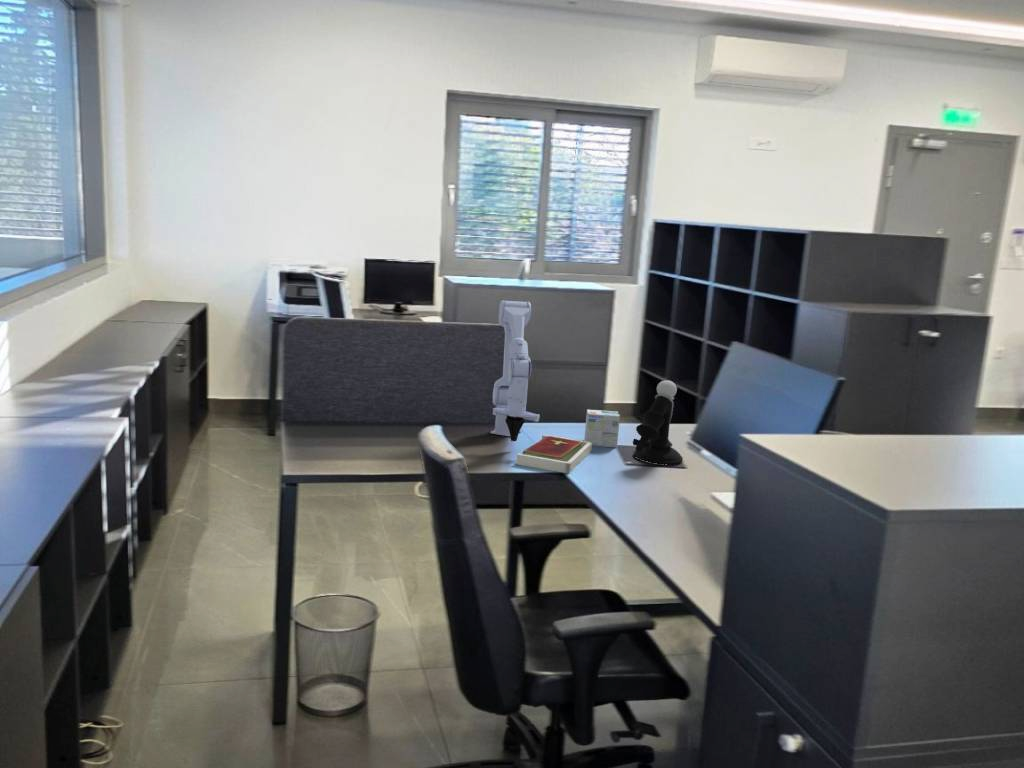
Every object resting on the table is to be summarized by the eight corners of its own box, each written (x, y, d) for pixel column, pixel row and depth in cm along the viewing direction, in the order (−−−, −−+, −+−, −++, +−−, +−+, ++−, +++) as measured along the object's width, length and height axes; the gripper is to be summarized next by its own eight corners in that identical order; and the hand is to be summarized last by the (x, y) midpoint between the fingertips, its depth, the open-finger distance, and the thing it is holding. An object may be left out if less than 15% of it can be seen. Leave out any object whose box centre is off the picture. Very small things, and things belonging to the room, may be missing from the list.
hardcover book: (521, 463, 255) (522, 449, 254) (546, 447, 274) (547, 434, 273) (559, 470, 250) (560, 456, 250) (581, 453, 270) (583, 440, 269)
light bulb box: (615, 442, 284) (618, 411, 282) (617, 448, 278) (620, 415, 276) (583, 440, 285) (586, 408, 282) (584, 445, 278) (587, 413, 276)
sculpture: (689, 458, 272) (699, 382, 267) (659, 475, 252) (669, 392, 247) (645, 448, 280) (653, 373, 275) (613, 463, 260) (621, 383, 255)
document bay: (542, 443, 276) (543, 434, 276) (591, 451, 271) (592, 442, 271) (516, 464, 252) (516, 454, 251) (569, 473, 247) (570, 463, 246)
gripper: (490, 396, 261) (487, 439, 264) (535, 403, 256) (532, 447, 259) (498, 392, 267) (495, 434, 270) (542, 399, 263) (539, 441, 266)
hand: (513, 440), depth 265 cm, fingers closed
